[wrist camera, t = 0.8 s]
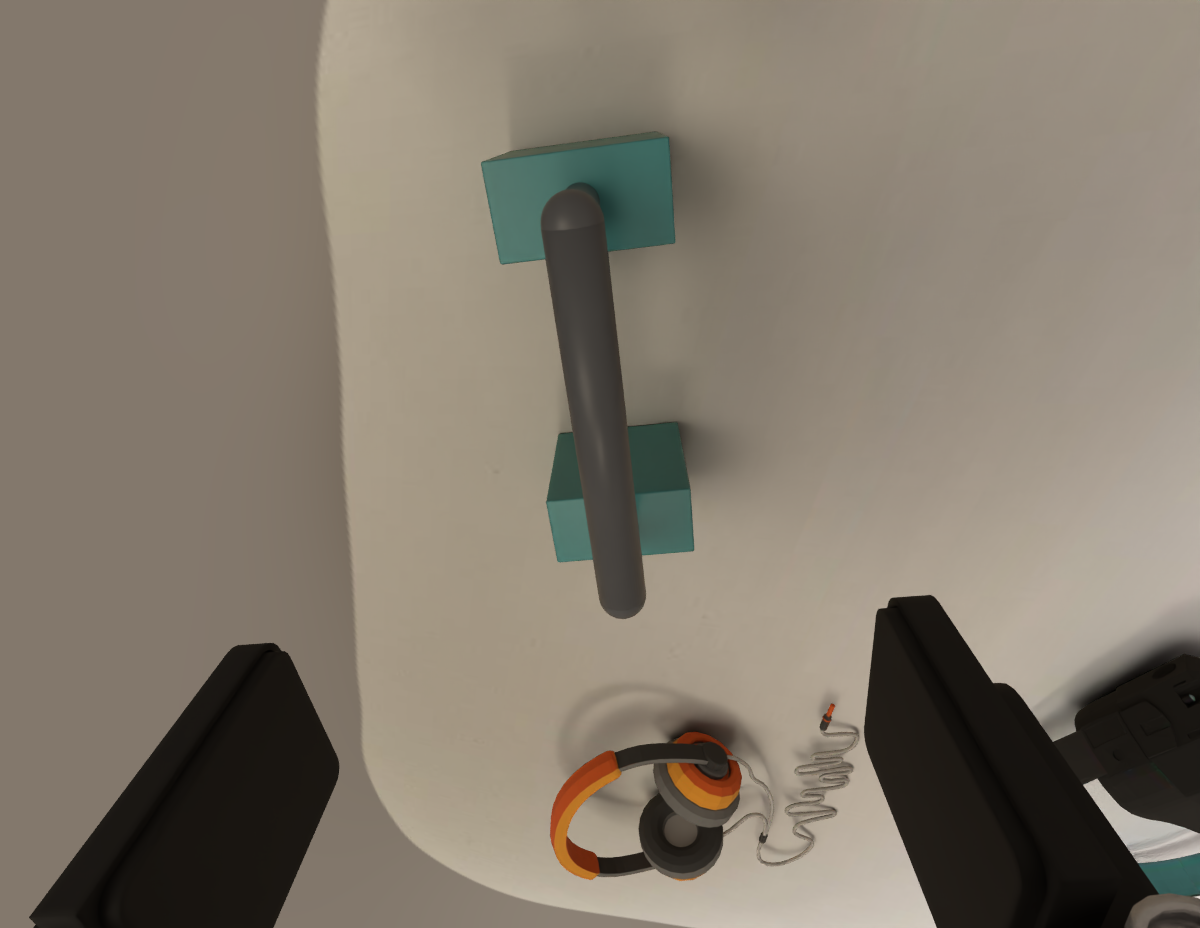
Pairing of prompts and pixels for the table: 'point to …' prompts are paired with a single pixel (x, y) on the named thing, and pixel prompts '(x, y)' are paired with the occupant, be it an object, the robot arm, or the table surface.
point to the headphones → (681, 805)
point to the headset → (598, 349)
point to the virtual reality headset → (1148, 757)
